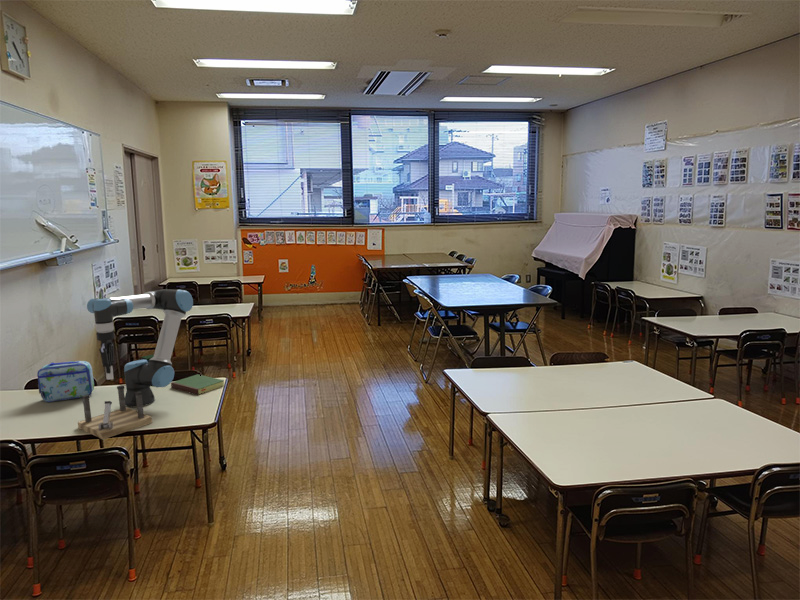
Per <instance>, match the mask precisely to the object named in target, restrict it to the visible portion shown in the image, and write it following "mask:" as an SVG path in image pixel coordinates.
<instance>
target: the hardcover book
mask: <svg viewBox="0 0 800 600" xmlns="http://www.w3.org/2000/svg"><path fill="white" fill-rule="evenodd" d="M200 375H201V376H200ZM221 386H222V387H224V386H225V380H224V379H220V378H215V377H211V376H206V375H203V374H198V373H197V374H195V375H191V376H188V377H185V378H181V379H178V380H175V381H172V382H171V383H170V387H171V389H174V390H178V391H182V392H184V393H185V392H187V393H189V392H190V394H192V393H193V395H196V394H197V395H198V396H199V395H201V393H202V394H204V392H205V393H207V392H210V391H213V390H215V389H218V388H221ZM197 395H196V396H197Z"/></svg>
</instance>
